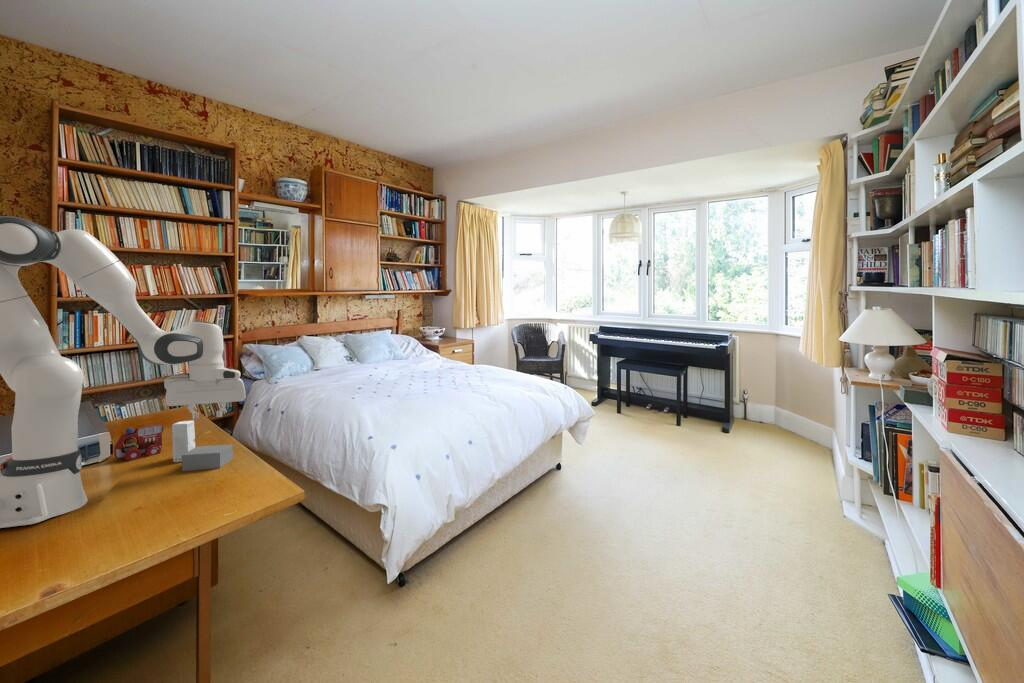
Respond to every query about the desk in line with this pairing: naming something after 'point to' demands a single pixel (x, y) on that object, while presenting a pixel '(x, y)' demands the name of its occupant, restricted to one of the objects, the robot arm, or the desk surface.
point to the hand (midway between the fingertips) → (207, 417)
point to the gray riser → (207, 457)
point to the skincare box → (182, 439)
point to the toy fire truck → (139, 442)
